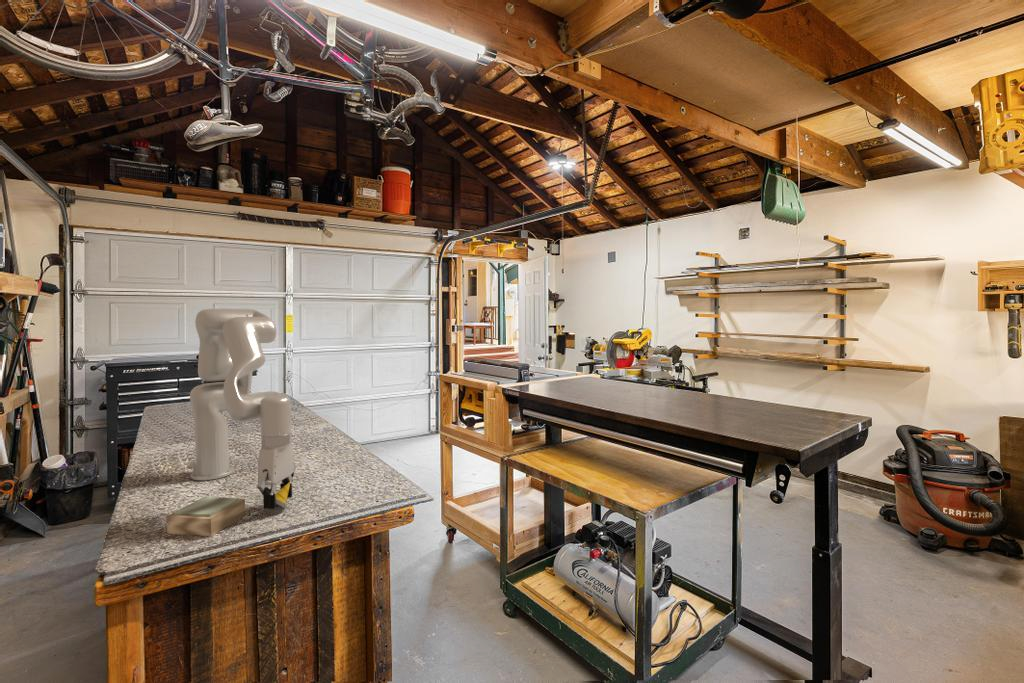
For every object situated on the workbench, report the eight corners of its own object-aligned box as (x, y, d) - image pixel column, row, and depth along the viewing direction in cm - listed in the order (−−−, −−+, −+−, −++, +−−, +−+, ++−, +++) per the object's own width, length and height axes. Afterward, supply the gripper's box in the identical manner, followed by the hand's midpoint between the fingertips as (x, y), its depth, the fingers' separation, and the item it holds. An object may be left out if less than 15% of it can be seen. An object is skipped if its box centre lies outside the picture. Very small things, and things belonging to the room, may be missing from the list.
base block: (167, 533, 113) (166, 513, 112) (205, 512, 124) (204, 495, 124) (211, 536, 111) (210, 516, 111) (245, 514, 123) (244, 497, 123)
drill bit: (260, 513, 125) (282, 480, 131) (279, 521, 125) (299, 487, 132) (259, 508, 121) (281, 475, 127) (277, 516, 121) (298, 482, 128)
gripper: (283, 431, 134) (284, 490, 135) (242, 448, 117) (244, 515, 118) (306, 432, 134) (308, 491, 134) (269, 449, 116) (271, 516, 117)
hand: (278, 502), depth 126 cm, fingers closed on drill bit, 6 cm apart
